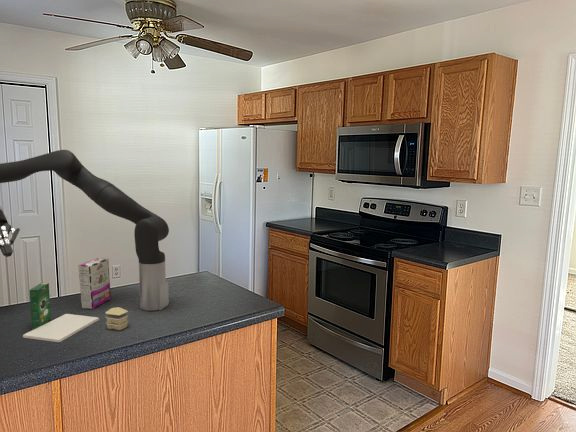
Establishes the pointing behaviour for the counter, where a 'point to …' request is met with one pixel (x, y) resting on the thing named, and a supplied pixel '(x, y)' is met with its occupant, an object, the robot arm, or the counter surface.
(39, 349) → the counter surface
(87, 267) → the candy bar box
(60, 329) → the cutting board
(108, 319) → the layered sandwich
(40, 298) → the coffee box
